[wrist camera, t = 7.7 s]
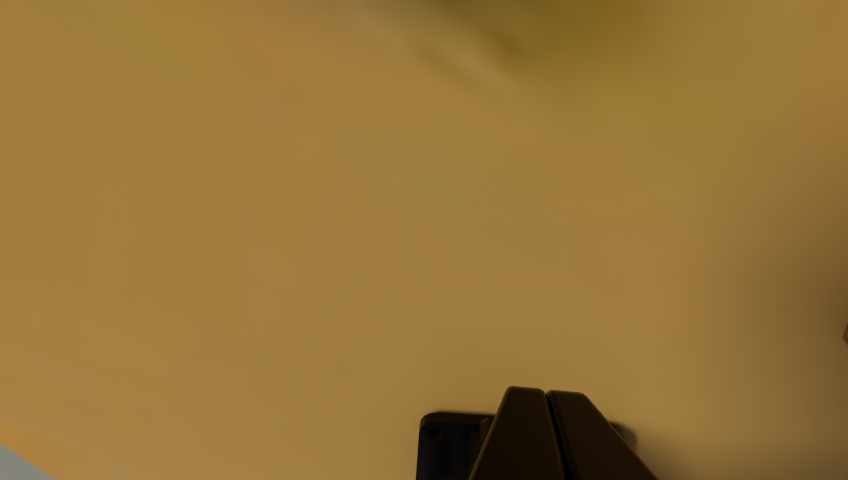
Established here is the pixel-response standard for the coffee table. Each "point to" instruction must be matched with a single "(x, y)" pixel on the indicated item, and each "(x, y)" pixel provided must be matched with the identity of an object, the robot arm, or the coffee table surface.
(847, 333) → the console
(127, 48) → the coffee table surface
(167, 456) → the coffee table surface
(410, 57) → the coffee table surface
